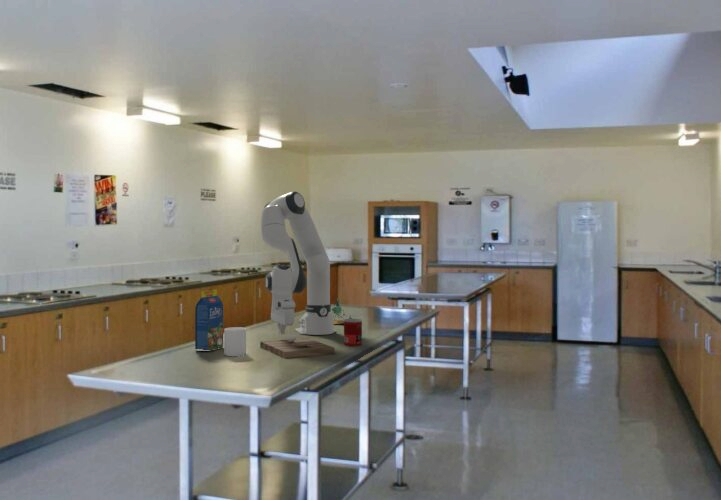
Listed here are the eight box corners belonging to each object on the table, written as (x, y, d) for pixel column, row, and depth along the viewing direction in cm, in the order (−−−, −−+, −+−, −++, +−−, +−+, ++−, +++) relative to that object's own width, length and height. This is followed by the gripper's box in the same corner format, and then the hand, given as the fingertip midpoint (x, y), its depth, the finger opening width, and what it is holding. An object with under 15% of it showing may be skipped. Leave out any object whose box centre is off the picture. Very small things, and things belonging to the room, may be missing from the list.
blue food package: (194, 351, 289) (194, 291, 288) (210, 346, 300) (210, 288, 299) (207, 352, 287) (207, 291, 286) (223, 347, 298) (223, 289, 297)
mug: (253, 352, 287) (253, 326, 286) (239, 357, 275) (239, 330, 275) (235, 351, 290) (235, 325, 289) (220, 356, 278) (220, 329, 278)
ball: (285, 342, 298) (285, 332, 298) (293, 341, 300) (293, 332, 300) (288, 343, 295) (288, 334, 295) (297, 342, 297) (297, 333, 297)
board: (260, 347, 300) (260, 341, 299) (307, 343, 310) (307, 338, 310) (284, 358, 275) (284, 351, 275) (334, 353, 285) (334, 347, 285)
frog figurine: (352, 326, 368) (349, 298, 368) (320, 328, 373) (317, 300, 372) (357, 323, 377) (354, 296, 377) (326, 325, 382) (323, 298, 382)
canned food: (359, 346, 303) (360, 321, 303) (342, 345, 305) (342, 320, 305) (363, 343, 311) (363, 318, 310) (345, 342, 312) (346, 318, 312)
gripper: (267, 299, 312) (267, 330, 313) (282, 304, 294) (282, 337, 294) (280, 299, 315) (280, 330, 315) (297, 304, 297) (296, 336, 297)
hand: (281, 333), depth 305 cm, fingers closed
